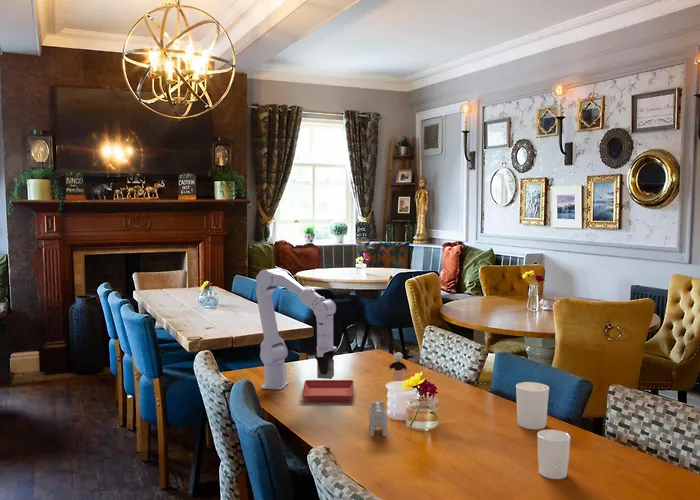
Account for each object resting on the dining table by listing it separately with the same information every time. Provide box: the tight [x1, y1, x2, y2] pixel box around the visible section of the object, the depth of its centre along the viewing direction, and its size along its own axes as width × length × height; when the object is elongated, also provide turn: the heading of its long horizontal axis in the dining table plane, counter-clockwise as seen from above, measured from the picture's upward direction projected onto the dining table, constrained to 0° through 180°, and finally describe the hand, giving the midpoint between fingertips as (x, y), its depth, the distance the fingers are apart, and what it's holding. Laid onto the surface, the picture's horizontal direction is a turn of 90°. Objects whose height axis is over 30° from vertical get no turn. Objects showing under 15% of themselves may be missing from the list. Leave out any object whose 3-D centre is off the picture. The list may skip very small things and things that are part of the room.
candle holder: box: [515, 381, 550, 430], centre depth 193 cm, size 10×10×12 cm
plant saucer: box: [301, 379, 355, 403], centre depth 223 cm, size 18×18×3 cm
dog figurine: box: [368, 400, 388, 437], centre depth 187 cm, size 5×13×11 cm, turn 2°
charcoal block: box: [316, 358, 335, 380], centre depth 222 cm, size 4×5×6 cm
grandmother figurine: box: [387, 352, 409, 382], centre depth 234 cm, size 8×4×13 cm, turn 84°
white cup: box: [536, 429, 571, 480], centre depth 158 cm, size 8×8×10 cm
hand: (325, 372), depth 222 cm, fingers closed on charcoal block, 4 cm apart
